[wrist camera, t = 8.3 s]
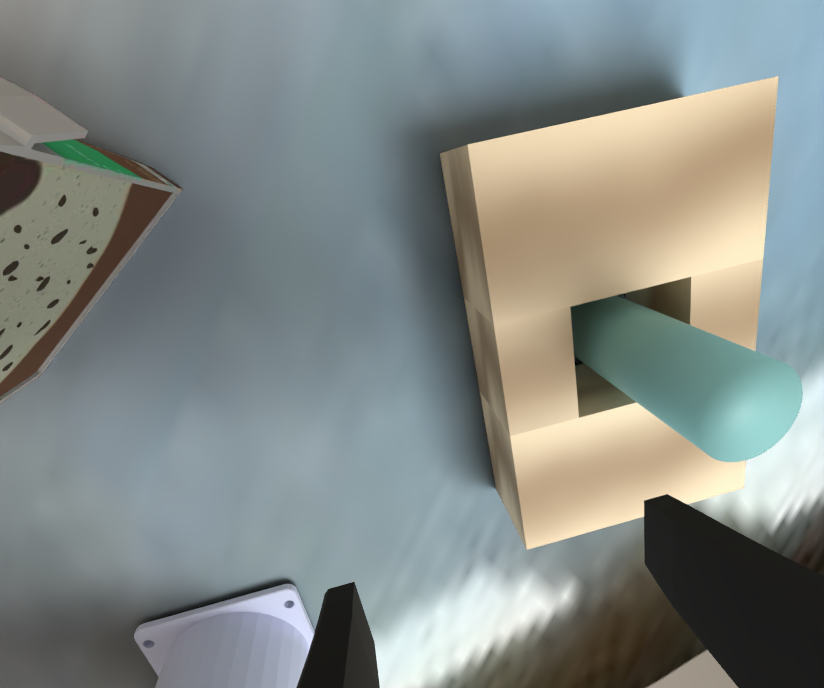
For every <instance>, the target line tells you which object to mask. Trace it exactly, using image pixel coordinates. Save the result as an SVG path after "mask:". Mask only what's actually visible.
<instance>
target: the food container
mask: <svg viewBox="0 0 824 688" xmlns="http://www.w3.org/2000/svg"><path fill="white" fill-rule="evenodd" d="M87 133H88V130H86V129H85V128H83V127H82V126H80V125H79V124H77V123H76V122H74V121H73V120H71V119H70V118H69V117H67V116H66V115H64V114H63V113H61V112H60V111H58V110H57V109H55V108H54V107H52V106H51V105H49V104H48V103H47V102H45V101H44V100H42V99H41V98H39V97H38V96H36V95H34V94H32V93H30V92H28V91H27V90H25V89H23V88H21V87H19V86H17V85H15V84H13V83H11V82H9V81H7V80H5V79H4V78H2V77H0V403H1V402H2V401H4V400H5V399H7V398H8V397H10V396H11V395H13V394H14V393H15V392H17V391H18V390H20V389H21V388H23V387H24V386H26V385H27V384H29V383H30V382H31V381H33V380H34V379H36V378H37V377H39V376H40V375H42V373H43V372H44V371H45V370H46V368H47V367H48V366H49V364H50V363H51V362H52V360H53V359H54V358H55V356H56V355H57V354H58V352H59V351H60V350H61V349H62V347H63V346H64V345H65V343H66V342H67V341H68V339H69V338H70V337H71V335H72V334H73V333H74V332H75V330H76V329H77V328H78V326H79V325H80V324H81V322H82V321H83V320H84V318H85V317H86V316H87V314H88V313H89V312H90V311H91V309H92V308H93V307H94V305H95V304H96V303H97V301H98V300H99V299H100V297H101V296H102V295H103V294H104V292H105V291H106V290H107V288H108V287H109V286H110V284H111V283H112V282H113V280H114V279H115V278H116V276H117V275H118V274H119V273H120V271H121V270H122V269H123V267H124V266H125V265H126V263H127V262H128V261H129V259H130V258H131V257H132V256H133V254H134V253H135V252H136V250H137V249H138V248H139V246H140V245H141V244H142V242H143V241H144V240H145V239H146V237H147V236H148V235H149V233H150V232H151V231H152V229H153V228H154V227H155V225H156V224H157V223H158V221H159V220H160V219H161V218H162V216H163V215H164V214H165V212H166V211H167V210H168V208H169V207H170V206H171V204H172V203H173V202H174V201H175V199H176V198H177V197H178V195H179V194H180V193H181V191H182V190H183V189H182V188H181V187H179V186H178V185H176V184H175V183H174V182H172V181H171V180H169V179H168V178H166V177H165V176H163V175H162V174H160V173H159V172H158V171H156V170H155V169H153V168H151V167H149V166H146V165H144V164H141V163H138V162H136V161H133V160H130V159H128V158H125V157H123V156H120V155H117V154H115V153H112V152H109V151H107V150H104V149H101V148H99V147H96V146H93V145H90V144H87V143H85V142H82V141H79V140H76V139H80V138H85V137H86V135H87Z"/></svg>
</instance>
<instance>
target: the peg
mask: <svg viewBox="0 0 824 688" xmlns="http://www.w3.org/2000/svg"><path fill="white" fill-rule="evenodd" d="M570 309H571V322H572V335H573V348H574V356H575V357H576V358H577V359H579V360H580V361H581V362H583V363H584V364H585V365H587V366H588V367H589V368H591V369H592V370H594V371H595V372H596V373H598V374H599V375H600V376H602V377H603V378H604V379H606V380H607V381H608V382H610V383H611V384H613V385H614V386H615V387H617V388H618V389H619V390H621V391H622V392H623V393H625V394H626V395H627V396H629V397H630V398H631V399H633V400H634V401H636V402H637V403H638V404H640V405H641V406H642V407H644V408H645V409H646V410H648V411H649V412H650V413H652V414H653V415H655V416H656V417H657V418H659V419H660V420H661V421H663V422H664V423H665V424H667V425H668V426H669V427H671V428H672V429H673V430H675V431H676V432H678V433H679V434H680V435H682V436H683V437H684V438H686V439H687V440H688V441H690V442H691V443H692V444H694V445H695V446H697V447H698V448H699V449H701V450H702V451H703V452H705V453H706V454H707V455H709V456H710V457H712V458H714V459H716V460H719V461H722V462H740V461H745V460H748V459H751V458H754V457H756V456H758V455H760V454H762V453H764V452H765V451H767V450H768V449H770V448H771V447H772V446H774V445H775V444H776V443H777V442H778V441H779V440H780V439H781V438H782V437H783V436H784V435H785V434H786V433H787V432H788V430H789V429H790V427H791V426H792V424H793V423H794V421H795V419H796V417H797V415H798V413H799V410H800V407H801V402H802V394H803V392H802V384H801V380H800V378H799V376H798V374H797V373H796V371H795V370H794V369H793V368H792V367H790V366H789V365H787V364H786V363H783V362H781V361H778V360H776V359H773V358H771V357H768V356H766V355H763V354H761V353H758V352H756V351H753V350H751V349H749V348H746V347H744V346H741V345H739V344H736V343H734V342H731V341H729V340H726V339H724V338H721V337H719V336H716V335H714V334H711V333H709V332H706V331H704V330H701V329H699V328H696V327H694V326H691V325H689V324H686V323H684V322H681V321H679V320H676V319H674V318H671V317H669V316H667V315H664V314H662V313H659V312H657V311H654V310H652V309H649V308H647V307H644V306H642V305H639V304H637V303H634V302H632V301H629V300H627V299H624V298H622V297H619V296H617V295H615V296H611V297H607V298H603V299H599V300H595V301H591V302H587V303H583V304H579V305H575V306H571V307H570Z"/></svg>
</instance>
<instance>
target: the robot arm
mask: <svg viewBox="0 0 824 688" xmlns="http://www.w3.org/2000/svg"><path fill="white" fill-rule="evenodd" d="M644 541H645V564H646V566H647V568H648V569H649V571H650V572H651V574H652V575H653V577H654V579H655V580H656V582H657V583H658V585H659V586H660V588H661V589H662V591H663V592H664V594H665V595H666V597H667V598H668V600H669V601H670V603H671V604H672V606H673V607H674V608H675V610H676V611H677V612H678V613H679V615H680V616H681V617H682V619H683V620H684V621H685V622H686V624H687V625H688V626H689V627H690V628H691V630H692V631H693V632H694V633H695V635H696V636H697V637H698V638H699V640H700V641H701V642H702V643H703V645H704V646H705V647H706V648H707V650H708V651H709V652H710V653H711V654H712V655H713V657H714V658H715V659H716V661H717V662H718V663H719V664H720V665H721V667H722V668H723V669H724V670H725V671H726V673H727V674H728V675H729V677H730V678H731V679H732V680H733V681H734V683H735V684H736V685H737V686H738V687H739V688H824V576H823V575H821V574H819V573H817V572H815V571H812V570H810V569H808V568H806V567H804V566H802V565H800V564H798V563H796V562H794V561H792V560H790V559H788V558H786V557H784V556H782V555H780V554H778V553H776V552H774V551H772V550H770V549H768V548H766V547H765V546H763V545H761V544H759V543H757V542H755V541H753V540H751V539H749V538H747V537H746V536H744V535H742V534H740V533H738V532H736V531H734V530H733V529H731V528H729V527H727V526H725V525H723V524H722V523H720V522H718V521H716V520H714V519H712V518H711V517H709V516H707V515H705V514H703V513H702V512H700V511H698V510H696V509H694V508H692V507H691V506H689V505H687V504H685V503H683V502H681V501H680V500H678V499H676V498H674V497H672V496H670V495H668V494H666V495H662V496H659V497H655V498H652V499H648V500H644ZM289 600H291V601H289ZM134 639H135V641H136V642H137V644H138V646H139V647H140V649H141V650H142V652H143V653H144V655H145V657H146V658H147V660H148V661H149V663H150V664H151V666H152V668H153V669H154V671H155V672H156V674H157V675H158V677H159V678H158V680H157V683H156V686H155V688H380V687H379V678H378V669H377V661H376V653H375V644H374V640H373V637H372V634H371V631H370V628H369V625H368V622H367V619H366V616H365V613H364V610H363V607H362V604H361V601H360V598H359V595H358V592H357V589H356V586H355V583H354V582H352V583H349V584H345V585H341V586H338V587H334V588H331V589H328V591H327V592H326V593H325V596H324V600H323V604H322V608H321V612H320V615H319V619H318V623H317V626H316V630H315V632H314V629H313V627H312V624H311V622H310V620H309V617H308V615H307V612H306V610H305V608H304V605H303V603H302V600H301V598H300V595H299V593H298V591H297V588H296V587H295V586H294V585H292V584H283V585H280V586H276V587H272V588H269V589H265V590H262V591H258V592H255V593H251V594H247V595H244V596H240V597H237V598H233V599H230V600H226V601H222V602H219V603H215V604H212V605H208V606H204V607H201V608H197V609H194V610H190V611H187V612H183V613H179V614H176V615H172V616H169V617H165V618H162V619H158V620H154V621H151V622H147V623H144V624H141V625H139V626H138V627H137V629H136V631H135V633H134Z"/></svg>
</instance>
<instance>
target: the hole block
mask: <svg viewBox="0 0 824 688" xmlns="http://www.w3.org/2000/svg"><path fill="white" fill-rule="evenodd" d="M777 87H778V77H773V78H768V79H764V80H759V81H755V82H750V83H746V84H741V85H737V86H732V87H727V88H723V89H718V90H714V91H709V92H705V93H700V94H696V95H691V96H686V97H682V98H677V99H673V100H668V101H664V102H659V103H655V104H650V105H645V106H641V107H636V108H632V109H627V110H623V111H618V112H614V113H609V114H604V115H600V116H595V117H591V118H586V119H582V120H577V121H573V122H568V123H563V124H559V125H554V126H550V127H545V128H541V129H536V130H532V131H527V132H522V133H518V134H513V135H509V136H504V137H500V138H495V139H491V140H486V141H481V142H477V143H472V144H468V145H465V146H461V147H458V148H455V149H452V150H449V151H446V152H443V153H440V158H441V164H442V170H443V176H444V182H445V188H446V194H447V200H448V206H449V212H450V218H451V223H452V229H453V235H454V241H455V247H456V253H457V259H458V265H459V271H460V277H461V283H462V289H463V295H464V301H465V307H466V313H467V319H468V325H469V330H470V336H471V342H472V348H473V354H474V360H475V366H476V372H477V378H478V384H479V390H480V396H481V402H482V408H483V414H484V420H485V426H486V431H487V437H488V443H489V449H490V455H491V461H492V467H493V473H494V479H495V485H496V490H497V492H498V494H499V496H500V498H501V500H502V502H503V504H504V506H505V508H506V510H507V512H508V514H509V516H510V518H511V520H512V522H513V524H514V525H515V527H516V529H517V531H518V533H519V535H520V537H521V539H522V541H523V543H524V545H525V547H526V549H527V550H528V549H531V548H535V547H538V546H542V545H545V544H549V543H552V542H556V541H559V540H563V539H566V538H570V537H573V536H577V535H580V534H584V533H587V532H591V531H594V530H598V529H601V528H605V527H608V526H612V525H615V524H619V523H622V522H626V521H630V520H633V519H637V518H640V517H644V500H648V499H652V498H655V497H659V496H662V495H666V494H668V495H670V496H672V497H674V498H676V499H678V500H680V501H681V502H683V503H685V504H689V503H693V502H696V501H700V500H703V499H707V498H710V497H714V496H717V495H721V494H724V493H728V492H731V491H735V490H738V489H742V488H744V479H745V468H746V460H745V461H740V462H722V461H719V460H716V459H714V458H712V457H710V456H709V455H707V454H706V453H705V452H703V451H702V450H701V449H699V448H698V447H697V446H695V445H694V444H692V443H691V442H690V441H688V440H687V439H686V438H684V437H683V436H682V435H680V434H679V433H678V432H676V431H675V430H673V429H672V428H671V427H669V426H668V425H667V424H665V423H664V422H663V421H661V420H660V419H659V418H657V417H656V416H655V415H653V414H652V413H650V412H649V411H648V410H646V409H645V408H644V407H642V406H641V405H640V404H638V403H637V402H636V401H634V400H633V399H631V398H630V397H629V396H627V395H626V394H625V393H623V392H622V391H621V390H619V389H618V388H617V387H615V386H614V385H613V384H611V383H610V382H608V381H607V380H606V379H604V378H603V377H602V376H600V375H599V374H598V373H596V372H595V371H594V370H592V369H591V368H589V367H588V366H587V365H585V364H580V365H576V366H575V360H574V348H573V335H572V322H571V309H570V307H571V306H575V305H579V304H583V303H587V302H591V301H595V300H599V299H603V298H607V297H611V296H615V295H619V294H623V293H625V299H627V300H629V301H632V302H634V303H637V304H639V305H642V306H644V307H647V308H649V309H652V310H654V311H657V312H659V313H662V314H664V315H667V316H669V317H671V318H674V319H676V320H679V321H681V322H684V323H686V324H689V325H691V326H694V327H696V328H699V329H701V330H704V331H706V332H709V333H711V334H714V335H716V336H719V337H721V338H724V339H726V340H729V341H731V342H734V343H736V344H739V345H741V346H744V347H746V348H749V349H751V350H753V351H755V349H756V337H757V325H758V313H759V301H760V289H761V278H762V266H763V254H764V242H765V230H766V218H767V206H768V194H769V182H770V171H771V159H772V147H773V135H774V123H775V111H776V99H777Z"/></svg>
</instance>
